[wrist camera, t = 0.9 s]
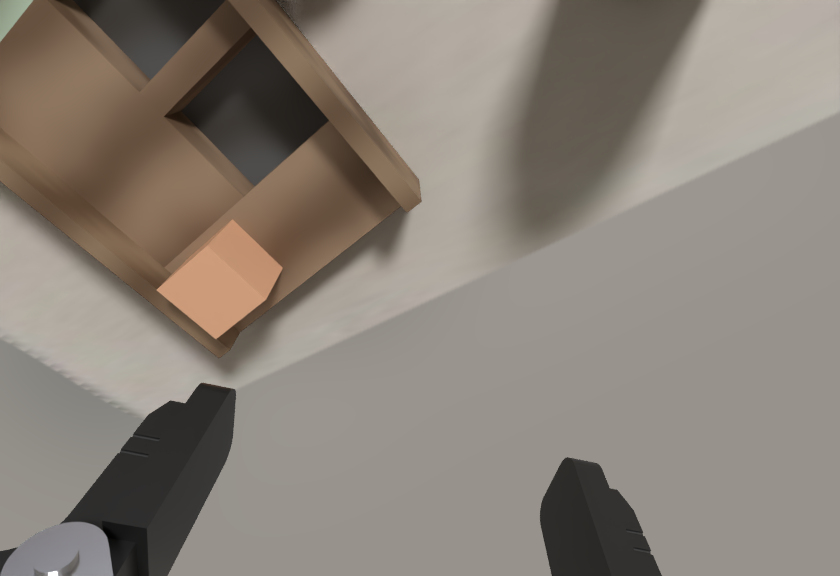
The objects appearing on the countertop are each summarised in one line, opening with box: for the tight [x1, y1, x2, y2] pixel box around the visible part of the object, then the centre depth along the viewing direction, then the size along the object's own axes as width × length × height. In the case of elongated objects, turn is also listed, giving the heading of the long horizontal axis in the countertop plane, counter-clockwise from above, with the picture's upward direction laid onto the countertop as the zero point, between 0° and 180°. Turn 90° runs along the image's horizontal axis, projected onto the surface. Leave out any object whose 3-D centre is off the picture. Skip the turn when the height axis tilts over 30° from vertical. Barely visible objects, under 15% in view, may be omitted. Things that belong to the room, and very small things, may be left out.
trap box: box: [0, 0, 422, 358], centre depth 24 cm, size 25×16×4 cm, turn 38°
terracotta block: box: [157, 219, 283, 339], centre depth 27 cm, size 4×4×4 cm
